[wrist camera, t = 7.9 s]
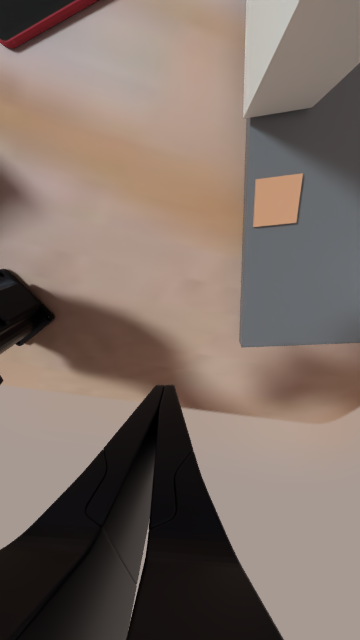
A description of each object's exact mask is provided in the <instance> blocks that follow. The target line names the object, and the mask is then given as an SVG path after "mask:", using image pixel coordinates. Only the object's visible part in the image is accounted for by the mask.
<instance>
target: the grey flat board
mask: <svg viewBox="0 0 360 640" xmlns="http://www.w3.org/2000/svg"><path fill="white" fill-rule="evenodd" d="M239 341H240V344H241V347H264V346H288V345H313V344H338V343H360V63H359V64H358V65H357V66H356V67H355V68H354V69H353V70H352V71H350V72H349V73H348V74H347V75H346V76H345V77H344V78H343V79H342V80H341V81H340V82H339V83H338V84H337V85H336V86H335V87H333V88H332V89H331V90H330V91H329V92H328V93H327V94H326V95H325V96H324V97H323V98H322V99H321V100H320V101H319V102H317V103H316V104H315V105H314V106H313V107H312V108H307V109H300V110H294V111H288V112H282V113H275V114H269V115H263V116H257V117H251V118H247V123H246V153H245V184H244V215H243V246H242V276H241V307H240V338H239Z"/></svg>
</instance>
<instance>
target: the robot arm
mask: <svg viewBox="0 0 360 640" xmlns="http://www.w3.org/2000/svg"><path fill="white" fill-rule="evenodd" d="M3 274H4V275H3ZM48 316H49V317H50V318H48ZM54 319H55V317H54V315H53V314H52V313H51V312H50V311H49V310H48V309H47V308H46V307H45V306H44V305H43V304H42V303H41V302H40V301H39V300H38V299H37V298H36V297H35V296H34V295H33V294H32V293H30V292H29V291H28V290H27V289H26V288H25V287H24V286H23V285H22V284H21V283H20V282H19V281H18V280H17V279H16V278H15V277H14V276H13V275H12V274H11V273H10V272H9V271H7V270H6V269H0V354H2V353H3V352H4V351H6V350H7V349H9V348H10V347H11V346H13V345H14V344H16V345H18V346H22V345H23V344H24V343H26V342H27V341H28V340H29V339H31V338H32V337H33V336H34V335H36V334H37V333H38V332H39V331H41V330H42V329H43V328H44V327H45V326H47V325H48V324H49V323H50V322H52V321H53V320H54ZM2 382H3V379H2V377H1V376H0V384H1V383H2ZM149 518H150V521H149ZM148 524H149V533H148V544H147V551H146V558H145V563H144V567H143V571H142V575H141V580H140V583H139V588H138V592H137V596H136V600H135V605H134V609H133V613H132V607H133V602H134V597H135V592H136V584H137V580H138V575H139V571H140V565H141V560H142V555H143V550H144V544H145V539H146V534H147V529H148ZM131 613H132V617H131ZM130 618H131V621H130ZM129 623H130V625H129ZM128 628H129V630H128ZM0 640H284V639H283V637H282V636H281V634H280V633H279V631H278V629H277V627H276V625H275V624H274V622H273V620H272V618H271V617H270V615H269V613H268V612H267V610H266V608H265V606H264V605H263V603H262V601H261V599H260V597H259V596H258V594H257V592H256V591H255V589H254V587H253V585H252V583H251V582H250V580H249V578H248V577H247V575H246V573H245V571H244V570H243V568H242V566H241V564H240V562H239V560H238V558H237V556H236V555H235V552H234V550H233V548H232V546H231V544H230V542H229V539H228V537H227V535H226V532H225V530H224V528H223V526H222V523H221V521H220V519H219V516H218V514H217V512H216V509H215V507H214V505H213V503H212V500H211V498H210V496H209V493H208V491H207V489H206V486H205V483H204V481H203V479H202V476H201V473H200V470H199V467H198V464H197V461H196V457H195V454H194V452H193V447H192V444H191V440H190V437H189V434H188V430H187V427H186V423H185V420H184V417H183V413H182V410H181V406H180V403H179V399H178V396H177V393H176V389H175V386H174V385H166V386H164V385H156V386H155V387H154V388H153V389H152V391H151V392H150V393H149V394H148V395H147V397H146V398H145V399H144V400H143V401H142V403H141V404H140V405H139V406H138V407H137V409H136V410H135V411H134V412H133V414H132V415H131V416H130V417H129V418H128V420H127V421H126V422H125V423H124V424H123V426H122V427H121V428H120V429H119V430H118V432H117V433H116V434H115V435H114V436H113V438H112V439H111V440H110V441H109V442H108V444H107V445H106V446H105V447H104V450H102V451H101V452H100V453H99V454H98V456H97V457H96V458H95V459H94V460H93V461H92V463H91V464H90V465H89V466H88V467H87V468H86V470H85V471H84V472H83V473H82V474H81V475H80V476H79V477H78V478H77V479H76V480H75V482H73V483H72V485H71V486H70V487H69V488H68V489H67V490H66V491H65V492H64V493H63V494H62V495H61V496H60V497H59V498H58V499H57V500H56V501H55V502H54V503H53V504H52V505H51V506H50V507H49V508H48V509H47V510H46V511H45V512H44V513H43V514H42V515H41V516H40V517H39V518H38V520H37V521H35V523H33V525H31V526H30V527H29V528H28V529H27V530H26V531H25V532H24V533H23V534H22V535H20V536H19V537H18V538H17V539H15V540H14V541H13V542H11V543H10V544H9V545H7V546H6V547H4V548H2V549H1V550H0Z"/></svg>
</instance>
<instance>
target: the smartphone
mask: <svg viewBox="0 0 360 640" xmlns="http://www.w3.org/2000/svg"><path fill="white" fill-rule="evenodd" d="M97 1H98V0H0V43H1V44H2V45H4V46H5V47H7V48H16V47H18V46H19V45H21V44H23V43H25V42H27V41H28V40H30V39H32V38H34V37H35V36H37V35H39V34H41V33H42V32H44V31H46V30H48V29H49V28H51V27H53V26H55V25H56V24H58V23H60V22H62V21H63V20H65V19H67V18H69V17H70V16H72V15H74V14H76V13H77V12H79V11H81V10H83V9H84V8H86V7H88V6H90V5H91V4H93V3H95V2H97Z"/></svg>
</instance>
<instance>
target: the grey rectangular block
mask: <svg viewBox="0 0 360 640" xmlns="http://www.w3.org/2000/svg"><path fill="white" fill-rule="evenodd" d="M359 63H360V0H247V1H246V38H245V75H244V111H243V119H244V118H251V117H257V116H263V115H269V114H275V113H282V112H288V111H294V110H300V109H307V108H312V107H313V106H314V105H315V104H316V103H317V102H319V101H320V100H321V99H322V98H323V97H324V96H325V95H326V94H327V93H328V92H329V91H330V90H331V89H332V88H333V87H335V86H336V85H337V84H338V83H339V82H340V81H341V80H342V79H343V78H344V77H345V76H346V75H347V74H348V73H349V72H350V71H352V70H353V69H354V68H355V67H356V66H357V65H358V64H359Z"/></svg>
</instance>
